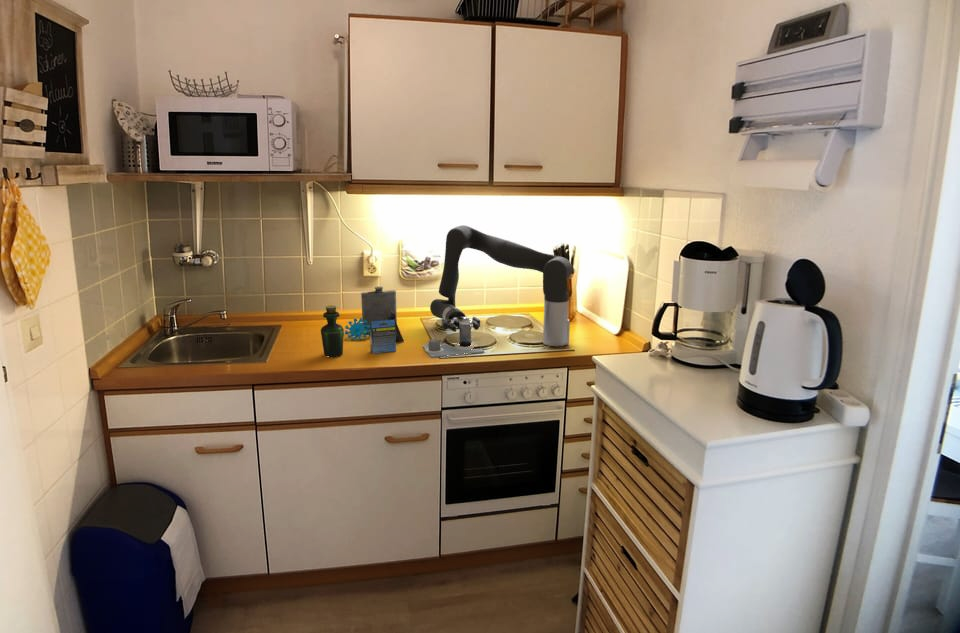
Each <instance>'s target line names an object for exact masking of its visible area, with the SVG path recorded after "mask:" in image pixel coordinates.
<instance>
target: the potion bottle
mask: <svg viewBox="0 0 960 633" xmlns="http://www.w3.org/2000/svg"><path fill="white" fill-rule="evenodd" d="M325 311H326V312H323V315H322V317H323V318H325V320H326V322H327V323H326V324H325V325H323V326H322V327H321V328H320V335H321V344H322V348H323V349H322V350H323V356H324V357H326V356H329V357H328V358H331V357H333V358H337V357H336V356H339V357H341V356H342V355H343V354H344V334H345V328H344V327H343V326H342V325H341V324H338V323H337V320H338V318H339V317H340V313H339V311H337V306H336V305H327V306H325ZM340 355H341V356H340Z"/></svg>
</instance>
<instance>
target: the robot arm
mask: <svg viewBox="0 0 960 633" xmlns="http://www.w3.org/2000/svg"><path fill="white" fill-rule="evenodd" d="M465 249H471V250H476V251H480V252H482V253H485V254H486V255H487V256H488V257H490V258H491V259H493V261H495V262H496V263H497V262H498V263H500V264H503V265H505V266H508V267H512V268H517V269H523V270H526V269H527V270H532V271H538V272H539V273H542V292H543V298H544V300H543V302H544V303H543V304H544V305H543V332H542V344H544V345H545V346H549V347H562V346H566V345H570V329H571V326H570V325H571V320H570V319H569V300H570V295H569V292H568V287H567V286H568V285H567V284H568V283H567V282H568V279H569V278H570V276H571V275H572V274H573V271H574V270H573V265H572V263H571V261H570V260H569V259H567V258H565V257H563V256H559V255H554V254H549V253H543V252H542V251H538V250H536V249H533V248H531V247H528V246H525V245H522V244H519V243H517V242H514V241H511V240H507V239H503V238H500V237H497V236H494V235H490V234H487V233H484V232H482V231H479V230H477V229H475V228H473V227H471V226H469V225H463V224H462V225H459V226H456V227H453V228H450V230H449V231H448V232H447V234H446V238H445V249H444V251H445V252H444V262H443V268H442V269H443V270H442V274H441V279H440V283H439V287H438V294H439V295H440V296H442V297H444V298H447V299H443V298H442V299H439V298H436V299H435V298H434V300H432V301H431V303H430V305H429V306H430V307H429V309H430V313H431V315H433V316H434V317H436V318H439V319H441V327H442V329H443V330H445V331H446V330H450V331H452V332H453V333H455V332H457V330H459V320H463V319H468V320H471V328H472V329H474V330H475V331H478V330H479V328H480V327H481V320H480V319H479V318H477V317H476V316H473V317H472V318H469V317H467V316H466V314H465V313H464V312H463V311H462V310H460V308H458V307H457V306H456V291H457V288H458V284H459V279H460V278H459V277H460V273H459V271H460V270H459V262H460V258H461V256H462V252H463V250H465Z"/></svg>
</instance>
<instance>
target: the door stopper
mask: <svg viewBox="0 0 960 633" xmlns="http://www.w3.org/2000/svg"><path fill="white" fill-rule="evenodd" d="M389 311H390V312H391V313H390V312H389ZM389 311H388V310H386V311H385V312H384V315H385V318H384V320H395V317H396V316H395V314H394V313H393V312H392V311H391V310H389ZM390 314H391V315H390ZM389 315H390V316H389ZM382 325H387V323H383V324H382ZM395 334H396V344H397V343H398V344H399V343H404V342H405V341H404V338H403V335H402V334H401V331H400V328H399V326H398V323H396V320H395Z"/></svg>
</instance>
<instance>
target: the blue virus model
mask: <svg viewBox="0 0 960 633" xmlns="http://www.w3.org/2000/svg"><path fill="white" fill-rule="evenodd" d="M362 321H363V319H362V317H360V318H359V319H357V318H353V322H352V320H350V321H348V322H347V323H348V325H347V324H346V325H345V326H344V334H345V335H346V337H347V339H351V340H352V341H353V340H355V341H356V339H357V340H358V341H361V340H362V338H364V339H365V338H367V337H369V338H370V331H369V330H367V329H365V327H367V328H370V325H369V324H368V325H363V324H367V321H366V320H365V321H364V322H362ZM349 325H350V327H349ZM348 330H349V331H348Z"/></svg>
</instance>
